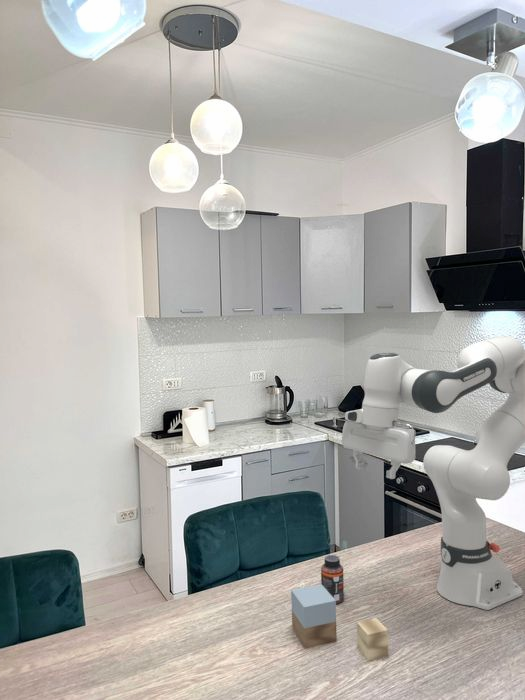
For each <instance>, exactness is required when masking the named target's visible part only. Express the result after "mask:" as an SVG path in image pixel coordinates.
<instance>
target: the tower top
mask: <svg viewBox="0 0 525 700" xmlns="http://www.w3.org/2000/svg"><path fill="white" fill-rule="evenodd" d="M290 592H291V593H290V594H291V595H290V596H291V598H290V599H291V612H292V611H293V613H294V614H295V616H296V617H297V619H298V620H299V621H300V623H301V624H302V626H303V627H304V628H309V627H313V626H318V625H322V624H327V623H331V622H336V623H337V604H336V600H335V599H334V598H333V597H332V596H331V595H330V593H329V592H328V591H327V590H326V589H325V588H324V586H323V585H322V584H316V585H310V586H305V587H301V588H296V589H295V588H294V589H290Z"/></svg>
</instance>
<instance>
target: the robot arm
mask: <svg viewBox="0 0 525 700" xmlns="http://www.w3.org/2000/svg"><path fill="white" fill-rule="evenodd" d="M363 380H364V381H363V390H364V397H363V400H362V404H361V408H360V409H355V410H350V411H346V412H345V413H344V419H345V422H344V424H343V427H342V433H341V434H342V435H341V445H342V446H343V448H344V449H345V448H346V449H349V450H352V455H353V458H354V461H355V469H357V470H360V471H363V470H364V469H365V465H366V462H365V461H363V459H362V455H363V453H364V454H367V455H371V456H374V457H378V458H382V459H385V460H389V461H390V465H391V467H390V468H389V470H386V473H385V474H386V475H385V477H386V478H387V479H390V480H394V479H396V474H397V472H398V469H400V467H401V465H402V464H404V465H405V464H407V465H408V464H412V463H414V461H415V460H416V435H417V434H416V430H415V428H414V427H413V426H412V425H411V424H410V423H406V422H402V421H398V420H399V419H398V418H399V408H400V406H399V405H404V406H409V407H411V408H412V407H413V408H416V409H420V410H424V411H427V412H430V413H432V414H441V413H444V412H446V411H447V410H449V409H450V408H452V407H453V405H454V404H455V403H456V402H457V401H459V399H461V398H463V397H464V396H467V395H469V394H471V393H472V392H474V391H476V390H478V389H481V388H482V387H484V386H486V385H488V384H489V385H490V387H491V388H492V389H493V390H494V391H497V392H499V393H502V394H508V397H507V399H506V400H505V402H504V403H503V404H502V405H501V406H499V407H498V408H497V409H495V410H494V412H493V413H491V414H490V415H489V416H488V417H487V418H486V419H485V420H484V421H483V422H482V423H481V424H480V425H479V426H478V427H477V428H476V429H475V434H474V435H475V436H474V438H475V442H476V445H475V447H474V448H472V449H471V450H467V449H463V448H459V447H456V446H454V445H446V444H444V445H443V444H438V445H433V446H431V447H430V448H429V449H428V450H427V451H426V452H425V454H424V457H423V462H422V464H423V470H424V472H425V473H426V475H427V477H429V479H430V481H431V482H432V484H433V487H434V490H435V492H436V496H437V499H438V501H439V506H440V510H441V525H442V526H441V529H442V533H441V535H442V536H441V537H440V556H441V563H440V571H439V576H438V579H437V584H436V586H435V588H436V591H437V592H438V594H439V595H440V596H441V597H443V598H444V599H446V600H449V601H450V602H453V603H456V604H459V605H464V606H471V607H475V608H479V609H482V610H484V611H485V610H486V611H488V610H489V611H490V610H492V609H494V608H496V607H499V606H501V605H503V604H506V603H508V602H510V601H513V600H515V599H517V598H520V597H522V596H523V595H524V591H523V589H522V587H521V586H520V585H519V584H518V583H517V582H516V581H514V577H513V574H512V571H511V569H510V568H509V567H508V565H506V564H505V563H504V562H503V561H501V560H500V559H499V558H497V557H496V556H495V555H494V554H492V552H493V553H496V554H497V553H498V552H499V551H500V546H499V545H497V544H495V542H491V543H490V542H489V541H488V540H487V516H486V514H485V512H484V510H483V508H482V507H481V506H480V504H479V502H478V501H477V499H479V500H487V501H498V500H500V499H502V498H503V497H504V496H505V495H506V493H507V492H508V490H509V489H510V488H509V487H510V486H511V485H510V484H511V477H510V476H511V475H510V472H509V470H508V463H509V461H510V459H511V458H512V457H513V455H514V454H515V453H516V452H517V451H518V450H519V449H520V448H521V447H522V445H523V444H524V443H525V347H524V345H523V344H522V342H520V340H518V339H517V338H515V337H512V336H499V337H497V336H496V337H492V338H487V339H483V340H480V341H477V342H474V343H471V344H469V345H468V346H466V347H464V348H463V349H461V351H460V352H459V355H458V356H457V369H455V370H452V371H450V372H449V371H446V370H437V369H436V370H432V369H431V370H430V369H422V368H415V366H412V365H410V364H409V363H407V362H406V361H404V360H403V359H402V357H401V355H400V354H399V353H396V352H383V353H375V354H373V355H371V356H370V357H369V358H368V361H367V363H366V366H365V373H364V379H363ZM491 551H492V552H491Z"/></svg>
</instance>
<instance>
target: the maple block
mask: <svg viewBox="0 0 525 700" xmlns="http://www.w3.org/2000/svg"><path fill="white" fill-rule="evenodd" d="M388 633H389V631H388V629H387V627H385V626H384V625H383V624H382V622H381V621H380V620H379V619H378V618H377V617H375V618H374V617H373V618H371V619H367V620H361V621H357V622H356V643H357V644H356V648H357V649H358V651H359V652H360V653H361V654H362V656H364V658H365V659H366V661H368V662H370V661H373V660H378V659H382V658H386V657H388V656H389V634H388Z"/></svg>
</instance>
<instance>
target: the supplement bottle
mask: <svg viewBox="0 0 525 700" xmlns="http://www.w3.org/2000/svg"><path fill="white" fill-rule="evenodd" d="M323 562H324V563H323V564H322V565H321V568H320V574H321V575H320V577H321V579H320V580H321V581H320V583H321V584H322V585H323V586H324V588H325V589H326V590H327V591H328V592H329V593H330V595H331V596H332V597H333V598H334V599H335V600H336V605H337V604H340V603H342V602H343V601H344V598H345V597H344V596H345V595H344V594H345V593H344V590H345V589H344V588H345V587H344V567H343V565H342V564H341V561H340V557H339V556H338V555H334V554H328V555H326V556H325V557H324V561H323Z"/></svg>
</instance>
